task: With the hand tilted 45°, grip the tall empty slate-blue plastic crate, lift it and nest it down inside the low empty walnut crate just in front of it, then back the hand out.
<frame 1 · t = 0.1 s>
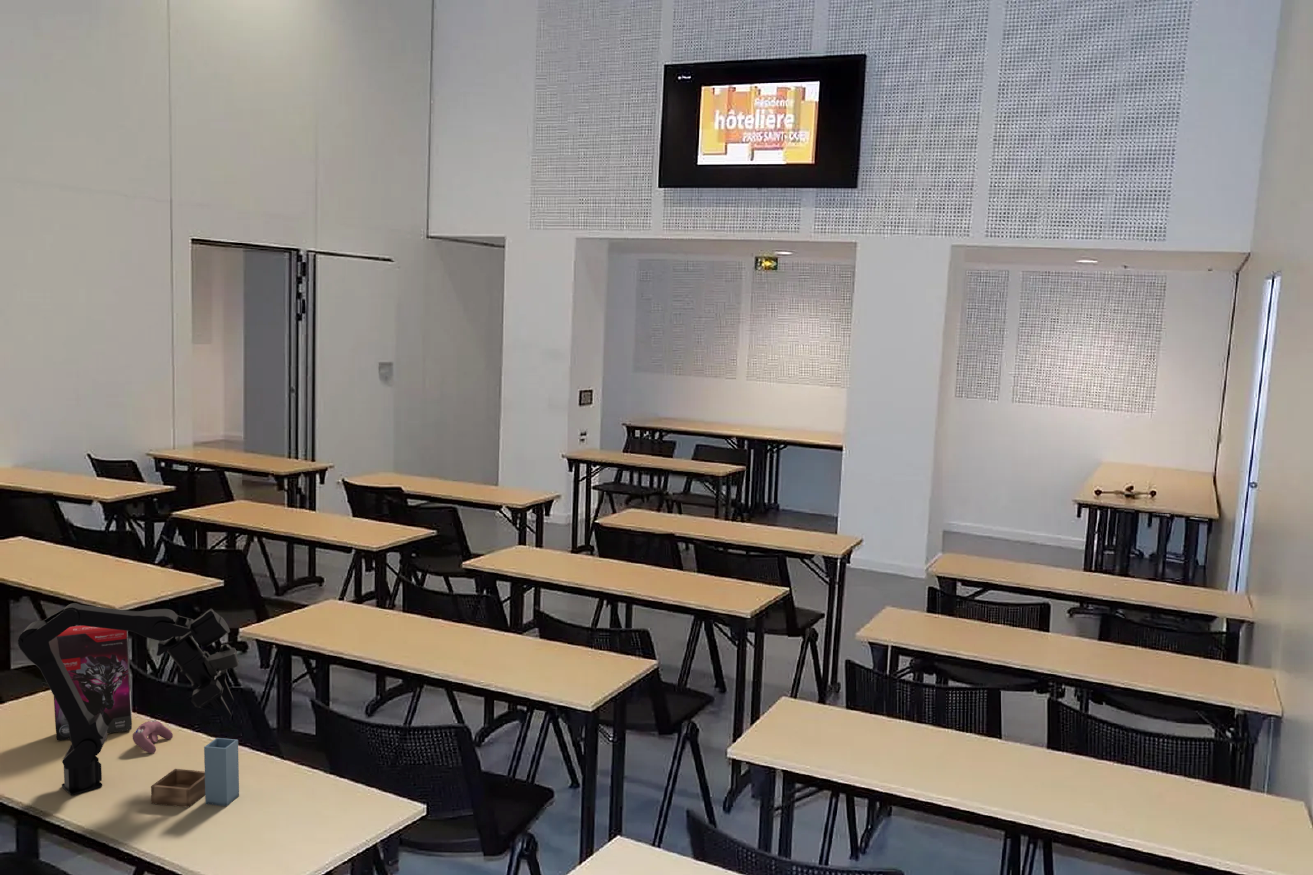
hand: (231, 709, 241), 15 cm above the table, tool tilted 35°, fingers open, 9 cm apart
walnut crate: (182, 796, 230), on the table
graphics card box: (94, 733, 262), on the table
tall slate-blue crate: (222, 800, 229), on the table
video game controller: (152, 746, 256), on the table
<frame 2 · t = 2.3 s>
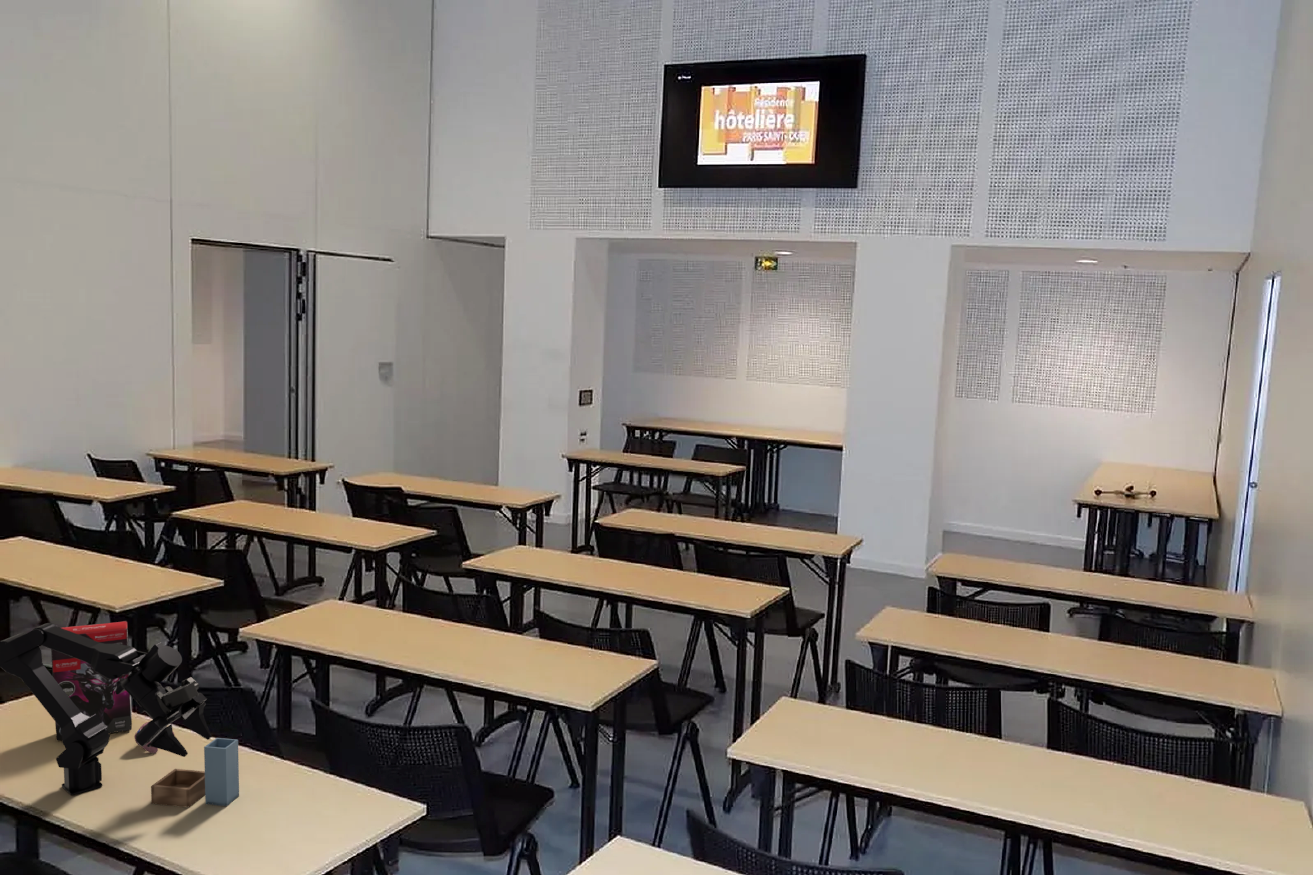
hand: (198, 746, 228), 12 cm above the table, tool tilted 45°, fingers open, 9 cm apart
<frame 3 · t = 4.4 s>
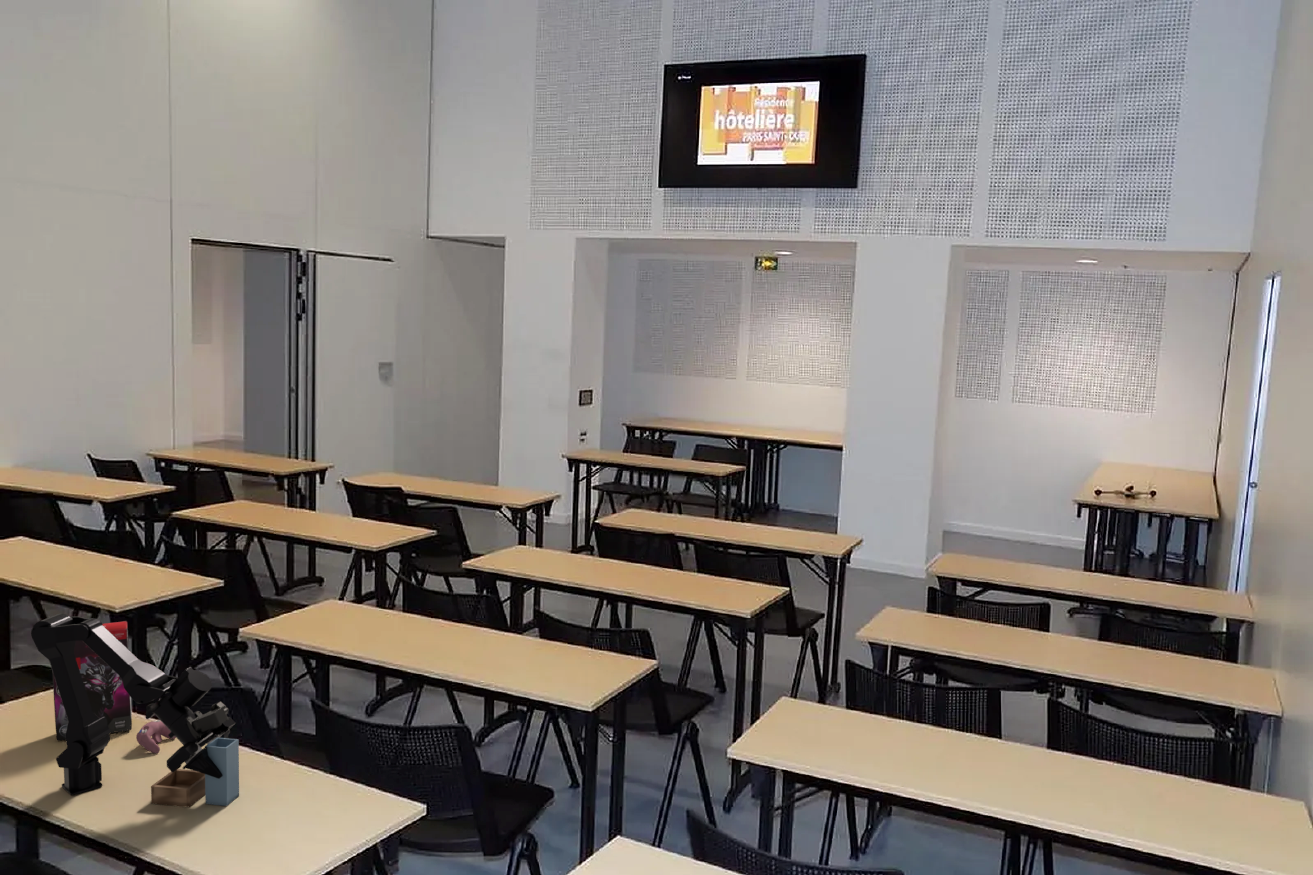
hand: (227, 771, 228), 7 cm above the table, tool tilted 45°, fingers closed on tall slate-blue crate, 5 cm apart
tall slate-blue crate: (222, 799, 229), on the table, touching gripper
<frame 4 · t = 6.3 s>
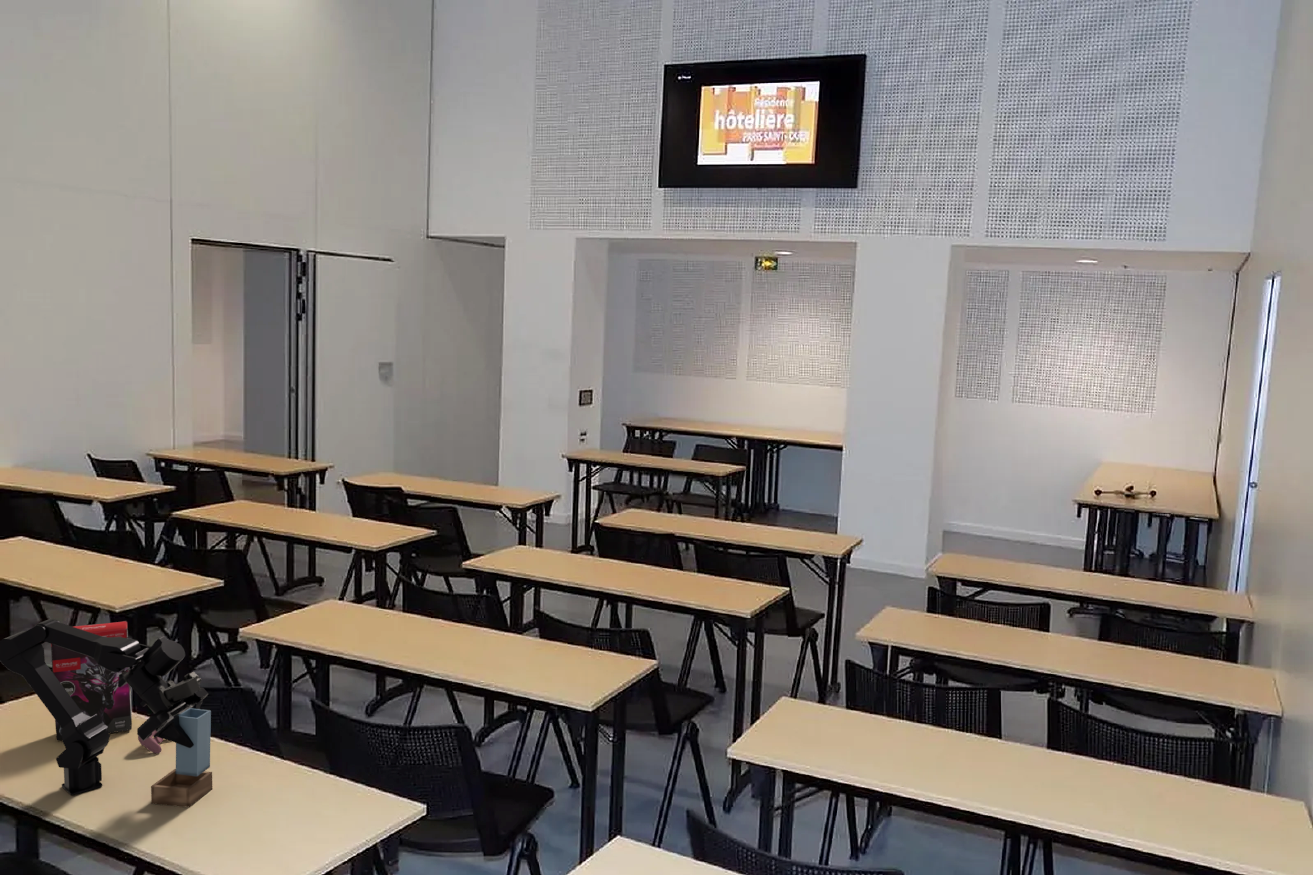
hand: (199, 741, 228), 13 cm above the table, tool tilted 45°, fingers closed on tall slate-blue crate, 5 cm apart
tall slate-blue crate: (192, 770, 229), point 6 cm above the table, touching gripper
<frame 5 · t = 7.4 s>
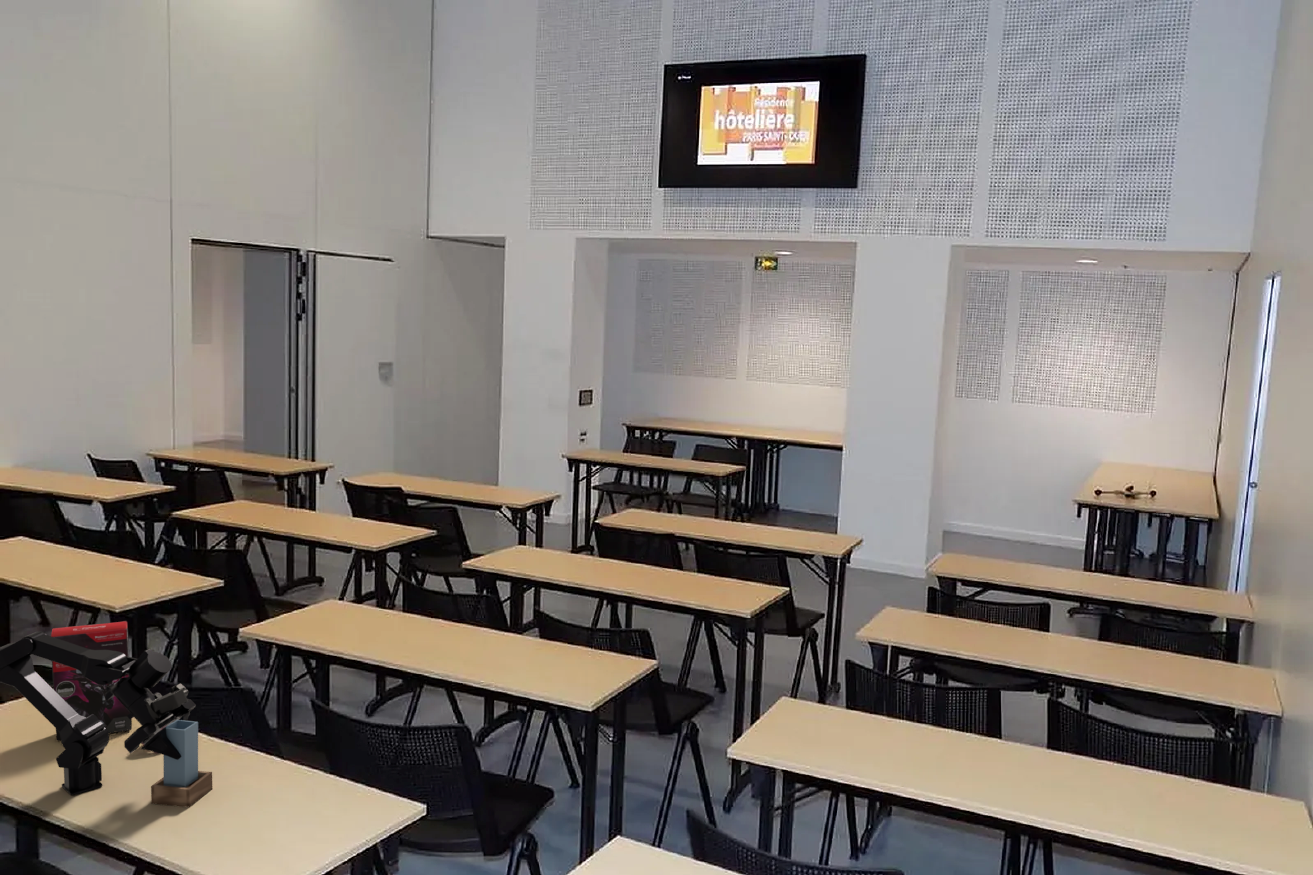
hand: (186, 753, 228), 10 cm above the table, tool tilted 45°, fingers closed on tall slate-blue crate, 5 cm apart
tall slate-blue crate: (181, 781, 229), point 3 cm above the table, touching gripper
when the fingers open (9 cm above the table, at t = 8.1 s): tall slate-blue crate drops 1 cm, resting on walnut crate.
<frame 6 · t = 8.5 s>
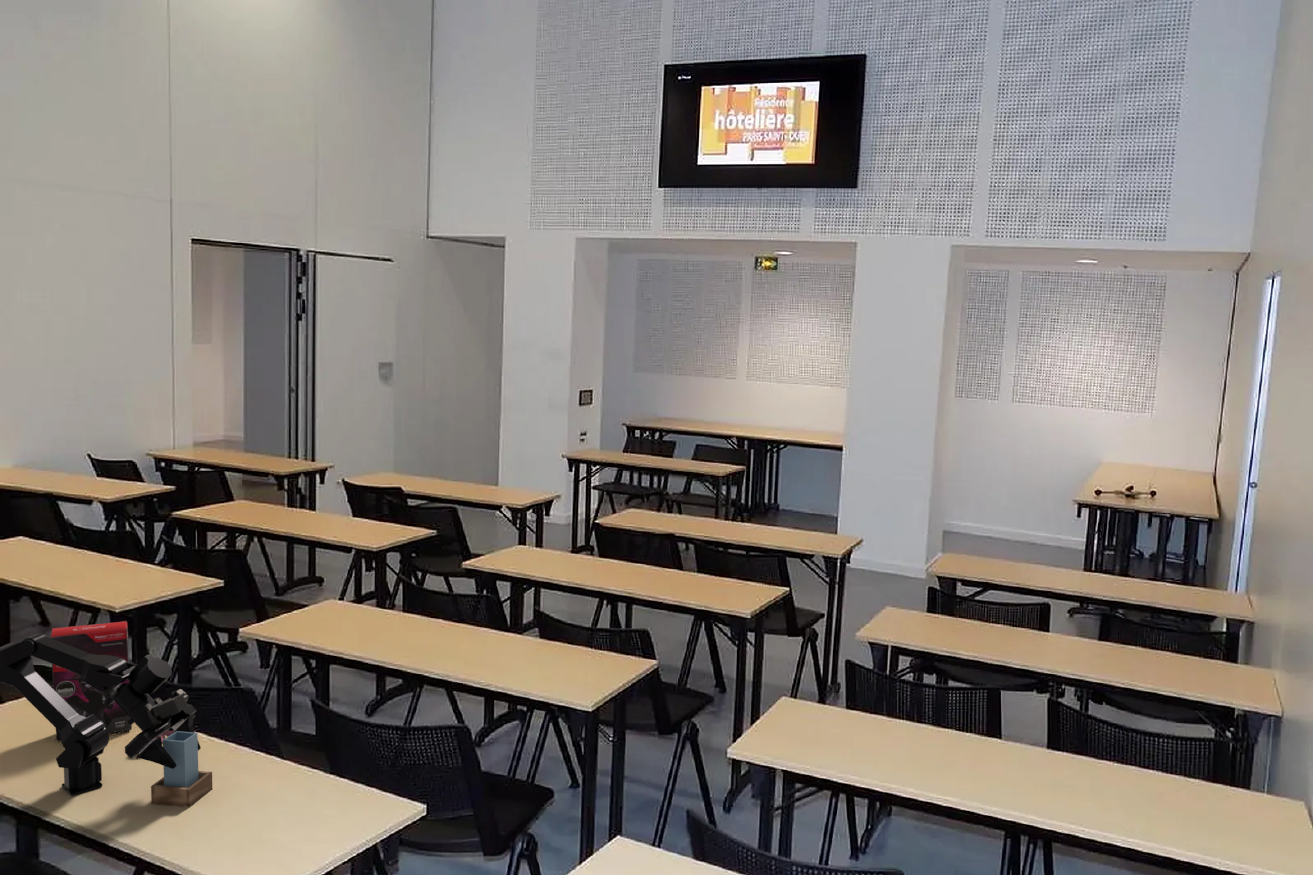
hand: (187, 758, 229), 9 cm above the table, tool tilted 45°, fingers open, 9 cm apart
tall slate-blue crate: (181, 793, 230), point 1 cm above the table, touching walnut crate
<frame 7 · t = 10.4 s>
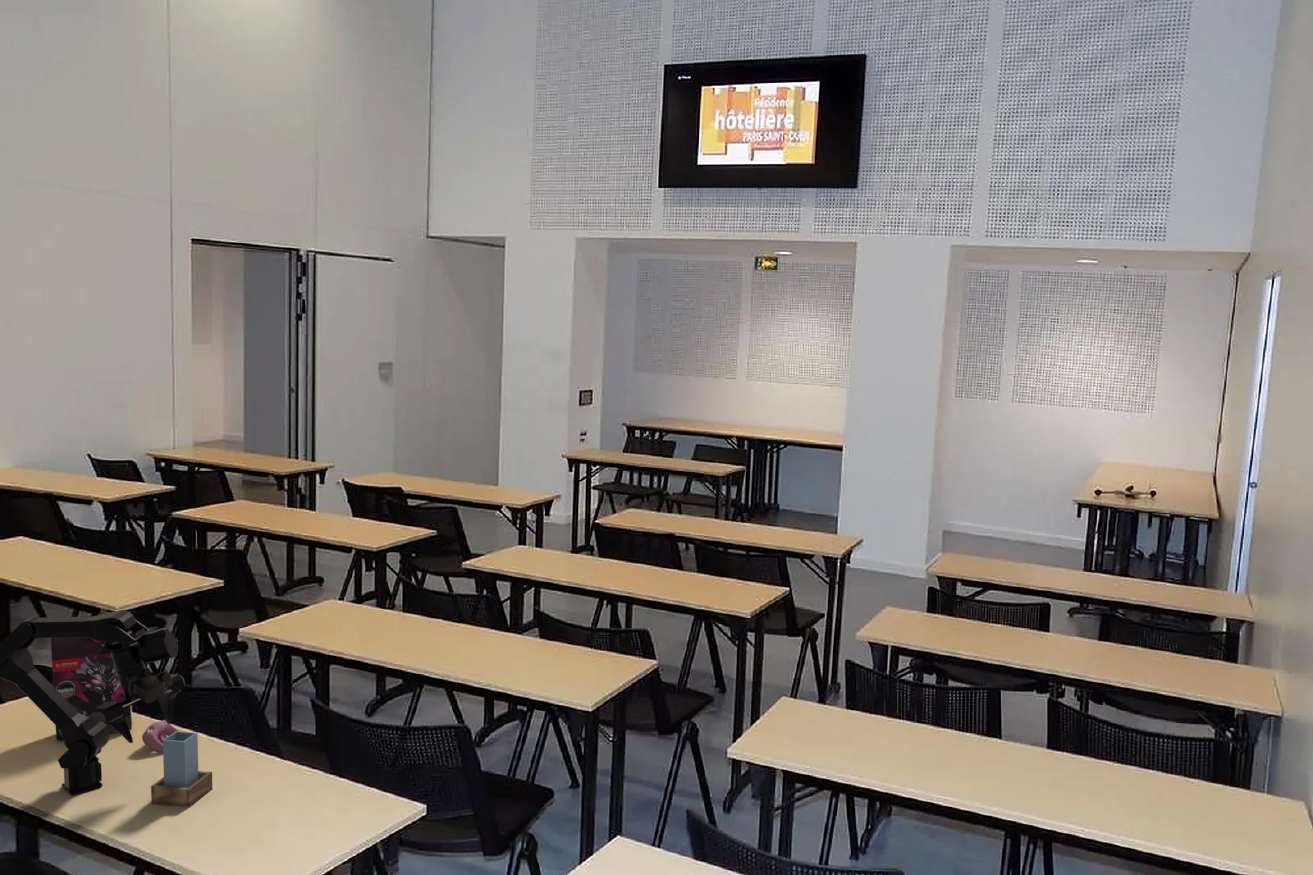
hand: (150, 733, 232), 13 cm above the table, tool pointing down, fingers open, 9 cm apart
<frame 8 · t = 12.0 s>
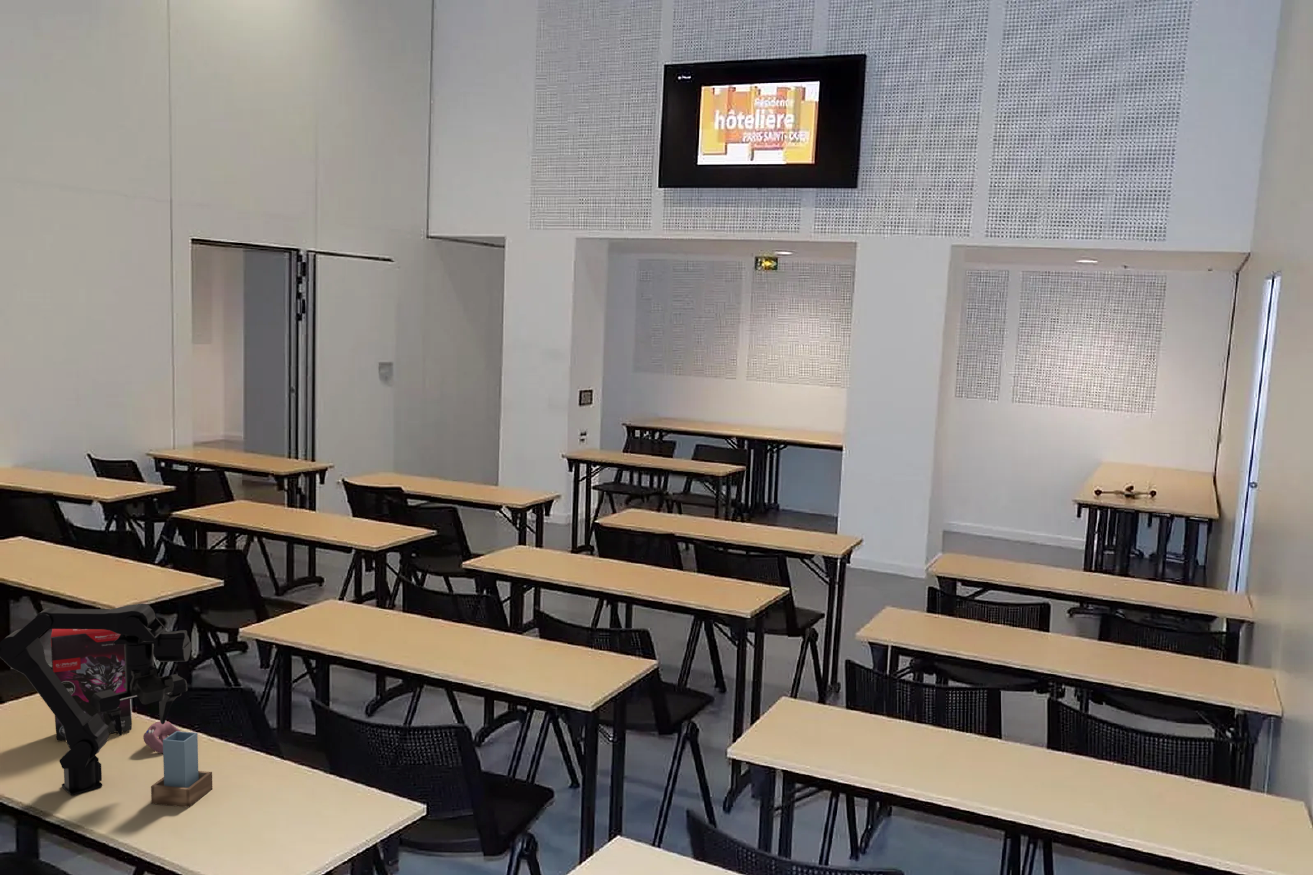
hand: (141, 729, 233), 13 cm above the table, tool pointing down, fingers open, 9 cm apart
at the end: tall slate-blue crate 0.1 cm off-centre on the walnut crate, point 0.8 cm above the walnut crate's base; tall slate-blue crate tilted 0°; the gripper is holding nothing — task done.
